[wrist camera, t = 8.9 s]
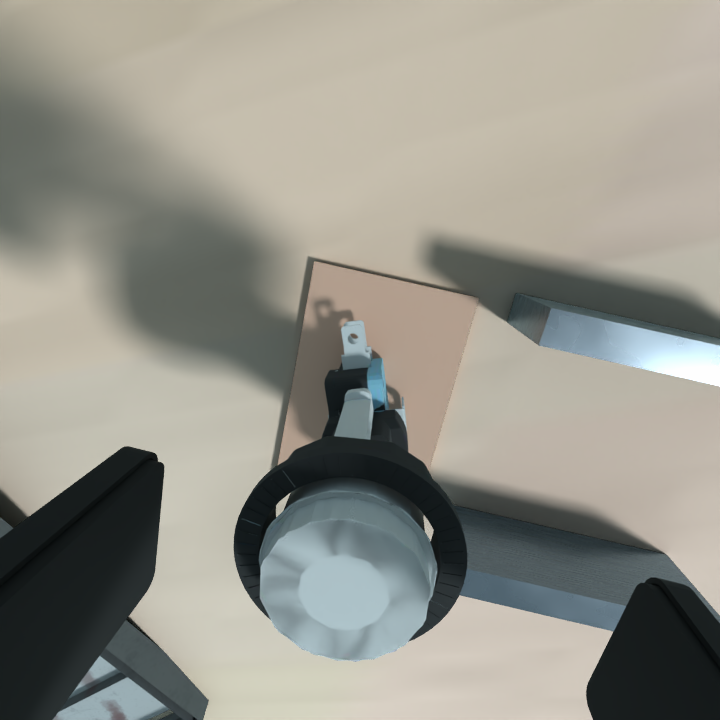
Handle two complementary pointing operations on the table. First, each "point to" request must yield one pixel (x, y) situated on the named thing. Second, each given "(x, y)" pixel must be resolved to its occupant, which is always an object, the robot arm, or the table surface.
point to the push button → (352, 527)
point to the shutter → (131, 682)
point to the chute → (561, 548)
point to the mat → (379, 350)
